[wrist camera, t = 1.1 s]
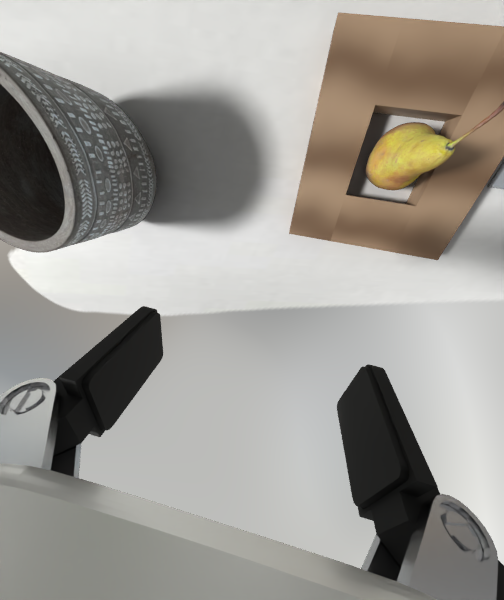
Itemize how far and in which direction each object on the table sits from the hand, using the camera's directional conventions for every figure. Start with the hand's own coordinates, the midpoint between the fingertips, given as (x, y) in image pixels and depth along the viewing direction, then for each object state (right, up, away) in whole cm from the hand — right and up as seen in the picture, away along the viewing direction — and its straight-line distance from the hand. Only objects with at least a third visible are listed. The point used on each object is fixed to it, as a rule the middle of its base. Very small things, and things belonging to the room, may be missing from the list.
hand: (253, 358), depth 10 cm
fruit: (+15, +18, +14) cm, 27 cm away
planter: (-18, +21, +19) cm, 33 cm away
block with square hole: (+15, +18, +13) cm, 27 cm away
